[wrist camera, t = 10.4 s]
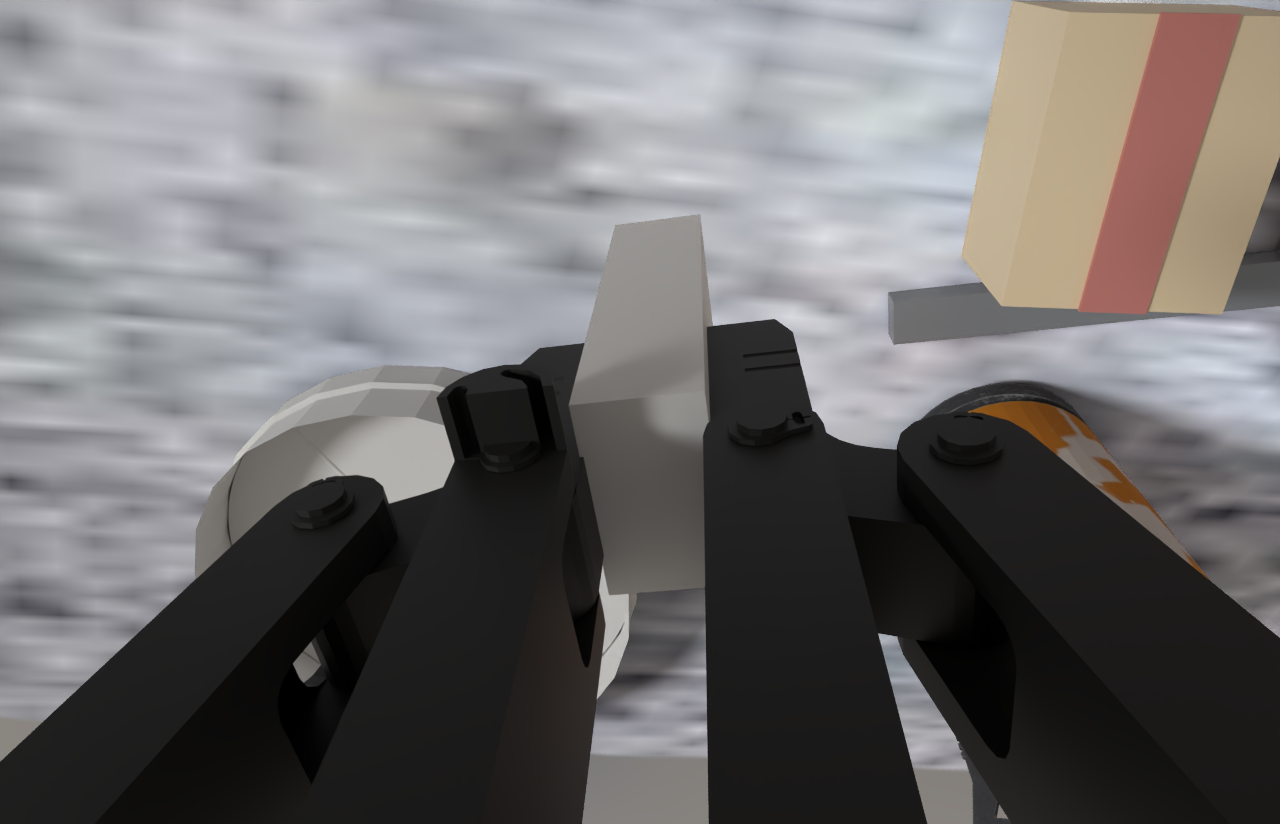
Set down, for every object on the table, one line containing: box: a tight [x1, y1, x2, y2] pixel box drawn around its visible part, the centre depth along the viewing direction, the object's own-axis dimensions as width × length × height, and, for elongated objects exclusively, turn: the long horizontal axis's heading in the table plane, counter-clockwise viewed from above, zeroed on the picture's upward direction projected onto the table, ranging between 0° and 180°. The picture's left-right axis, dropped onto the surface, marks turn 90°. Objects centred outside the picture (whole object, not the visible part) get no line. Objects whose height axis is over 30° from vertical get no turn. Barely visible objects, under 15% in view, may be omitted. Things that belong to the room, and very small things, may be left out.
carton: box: [961, 1, 1280, 314], centre depth 32 cm, size 10×8×6 cm
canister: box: [921, 383, 1209, 824], centre depth 34 cm, size 9×11×20 cm
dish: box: [195, 365, 637, 699], centre depth 45 cm, size 22×22×5 cm
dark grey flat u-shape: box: [888, 241, 1280, 345], centre depth 32 cm, size 22×18×1 cm
